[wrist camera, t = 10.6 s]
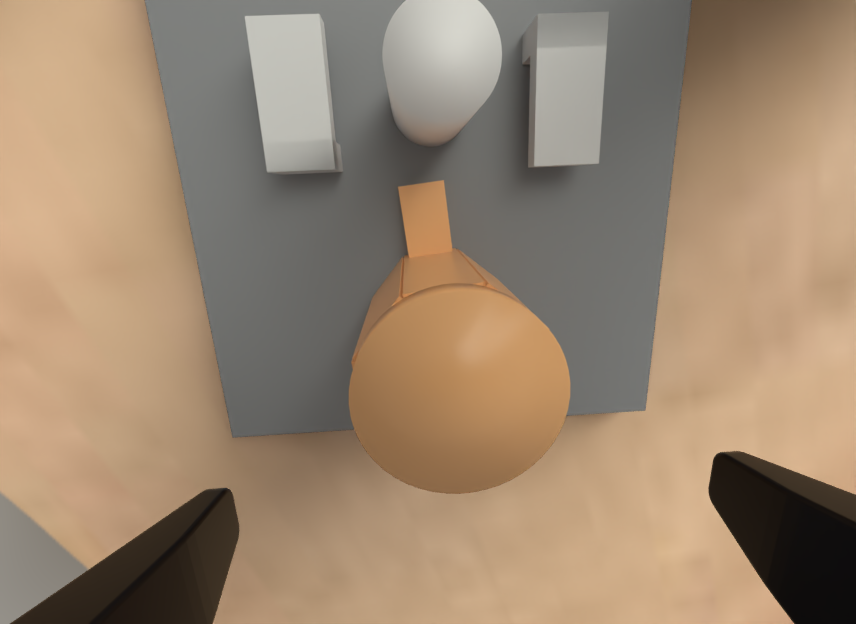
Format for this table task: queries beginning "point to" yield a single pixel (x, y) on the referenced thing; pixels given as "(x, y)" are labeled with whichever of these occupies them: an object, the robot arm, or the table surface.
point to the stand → (420, 176)
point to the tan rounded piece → (453, 366)
